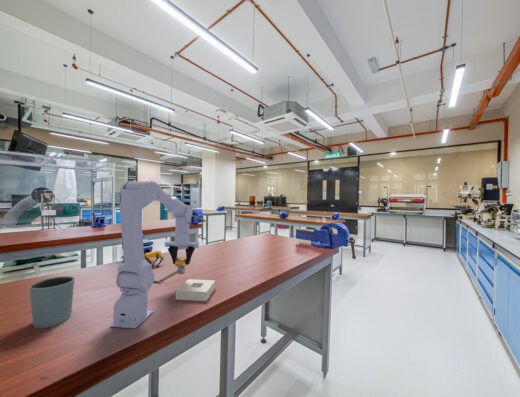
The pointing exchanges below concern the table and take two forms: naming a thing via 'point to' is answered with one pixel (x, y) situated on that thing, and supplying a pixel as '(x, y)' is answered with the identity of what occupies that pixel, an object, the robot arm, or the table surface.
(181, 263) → the brass door knob
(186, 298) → the pin block
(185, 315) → the table surface
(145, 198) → the robot arm
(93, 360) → the table surface
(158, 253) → the robot dog
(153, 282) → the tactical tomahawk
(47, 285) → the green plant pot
